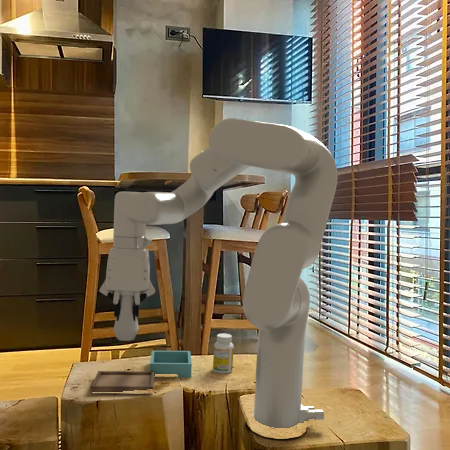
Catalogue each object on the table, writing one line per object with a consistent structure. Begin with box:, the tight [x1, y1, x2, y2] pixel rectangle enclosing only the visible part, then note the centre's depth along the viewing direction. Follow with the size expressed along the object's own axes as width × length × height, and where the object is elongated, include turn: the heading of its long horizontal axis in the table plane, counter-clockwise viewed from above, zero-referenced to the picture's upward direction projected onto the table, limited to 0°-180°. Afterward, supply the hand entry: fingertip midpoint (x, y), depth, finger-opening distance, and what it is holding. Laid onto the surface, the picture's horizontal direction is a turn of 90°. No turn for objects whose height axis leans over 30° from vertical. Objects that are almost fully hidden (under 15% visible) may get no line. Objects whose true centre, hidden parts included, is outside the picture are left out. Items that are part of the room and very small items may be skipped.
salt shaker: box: [113, 291, 140, 342], centre depth 116 cm, size 6×6×13 cm
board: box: [90, 370, 155, 393], centre depth 117 cm, size 14×10×2 cm
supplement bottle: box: [212, 333, 235, 375], centre depth 131 cm, size 5×5×10 cm
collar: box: [149, 350, 193, 378], centre depth 129 cm, size 11×11×4 cm
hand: (126, 319), depth 117 cm, fingers closed on salt shaker, 3 cm apart
